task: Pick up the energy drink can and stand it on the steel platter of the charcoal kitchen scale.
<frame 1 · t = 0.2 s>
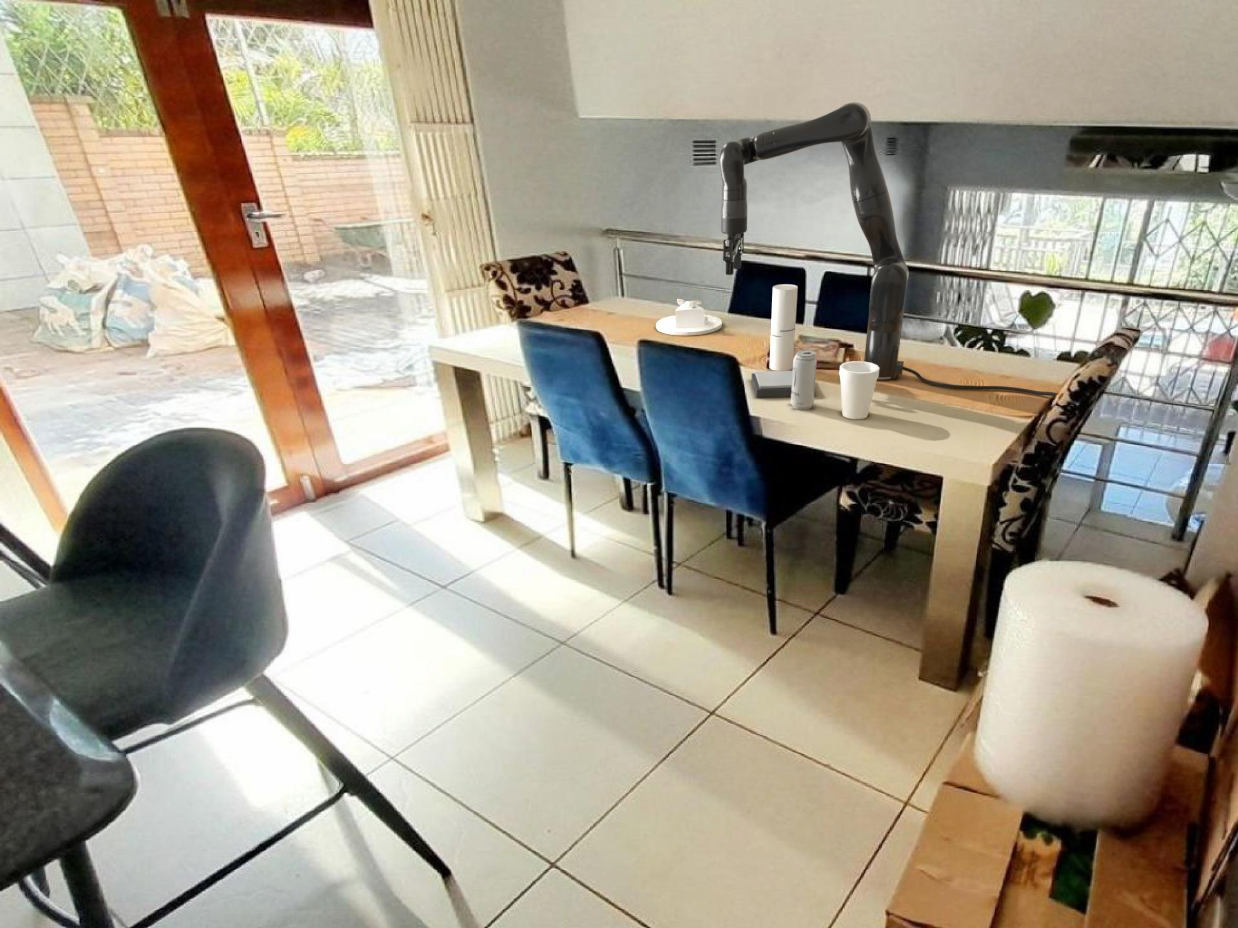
hand: (733, 271, 212), 29 cm above the table, tool pointing down, fingers open, 8 cm apart
energy drink can: (801, 406, 191), on the table
cylindrical container: (781, 368, 219), on the table
dish: (688, 326, 267), on the table
scale: (781, 388, 203), on the table
foam cup: (854, 415, 184), on the table
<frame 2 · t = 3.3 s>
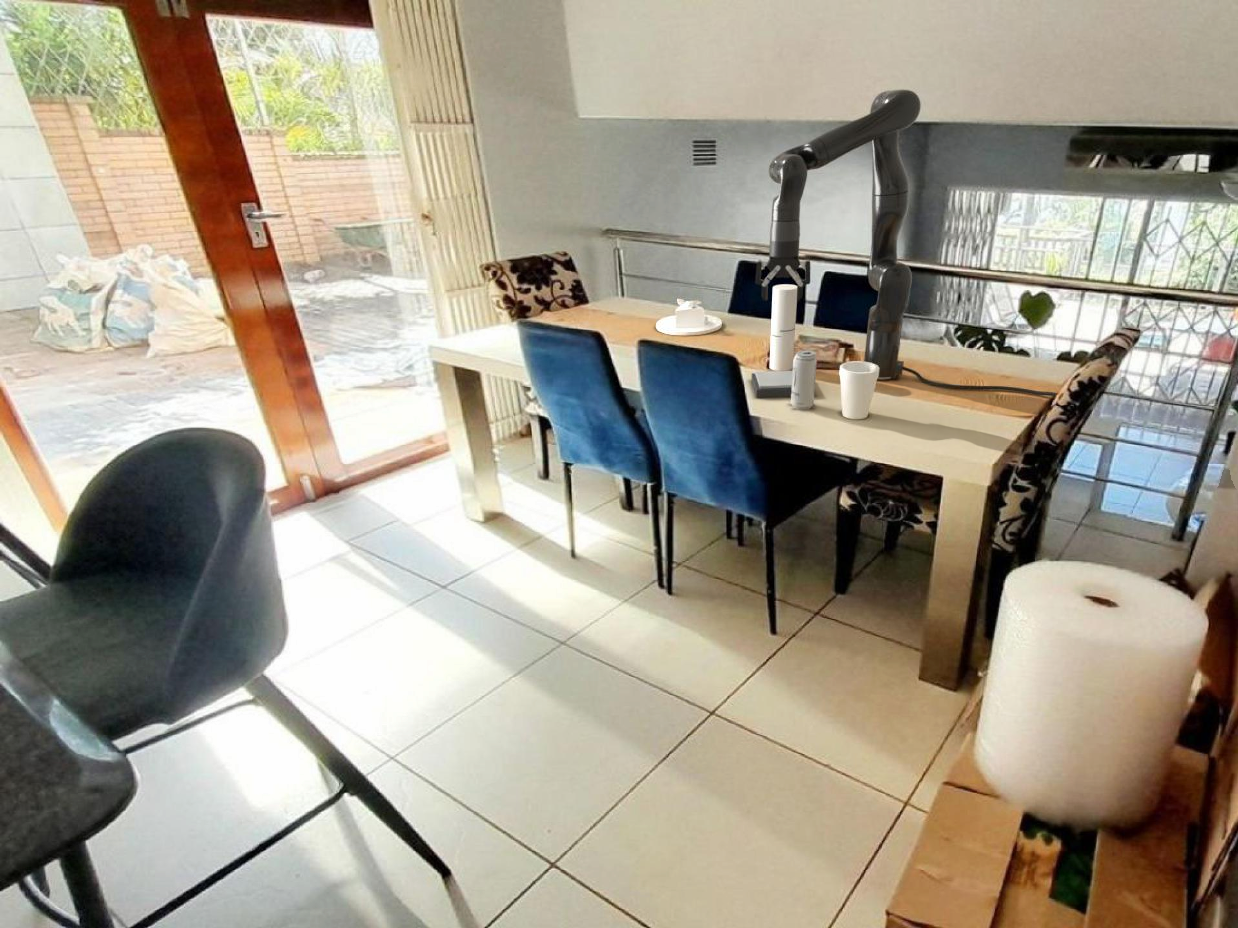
hand: (781, 300, 190), 26 cm above the table, tool pointing down, fingers open, 8 cm apart
nothing on the table moved.
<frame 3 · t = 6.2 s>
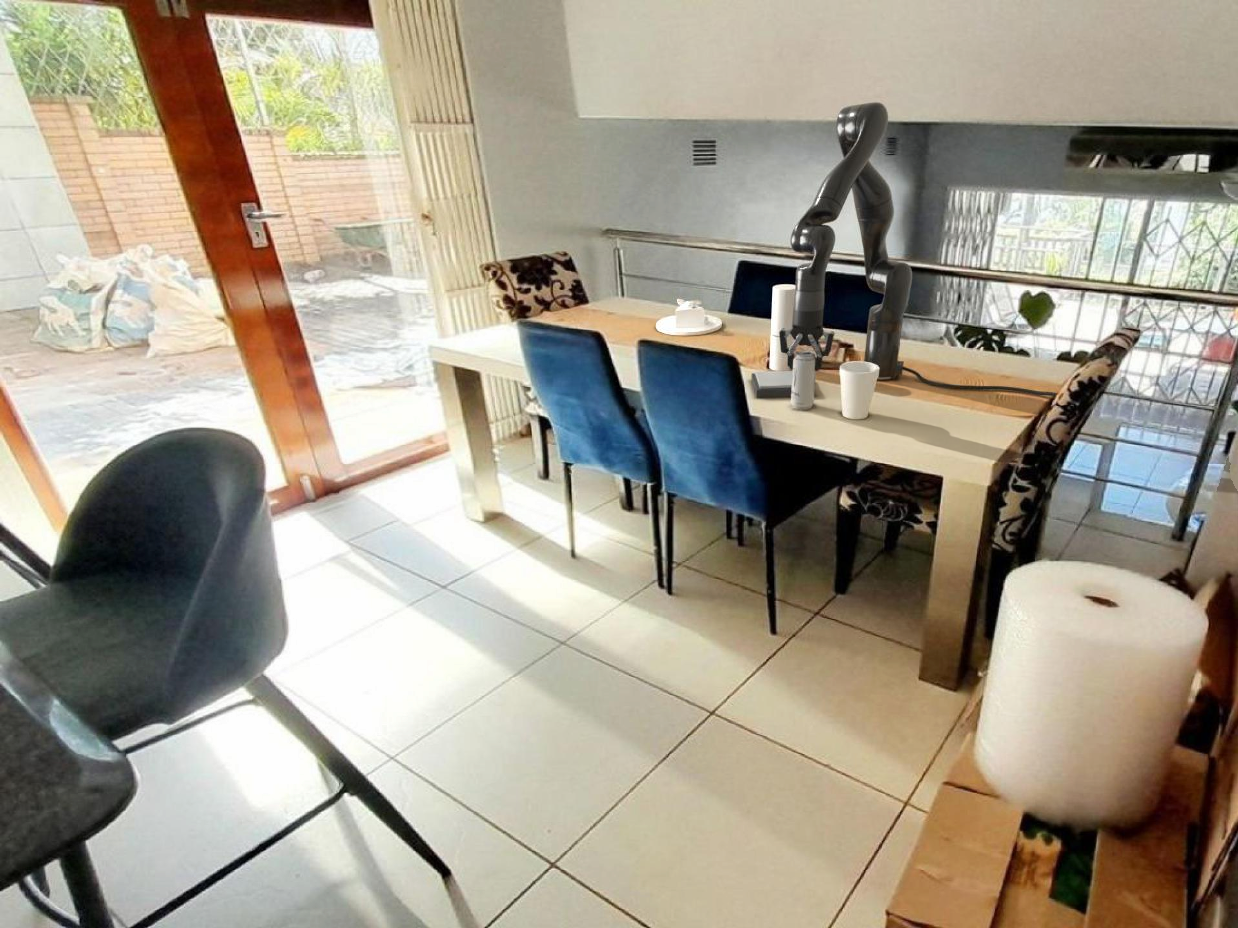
hand: (804, 369, 186), 11 cm above the table, tool pointing down, fingers closed on energy drink can, 6 cm apart
energy drink can: (801, 406, 191), on the table, touching gripper
everything else where it was.
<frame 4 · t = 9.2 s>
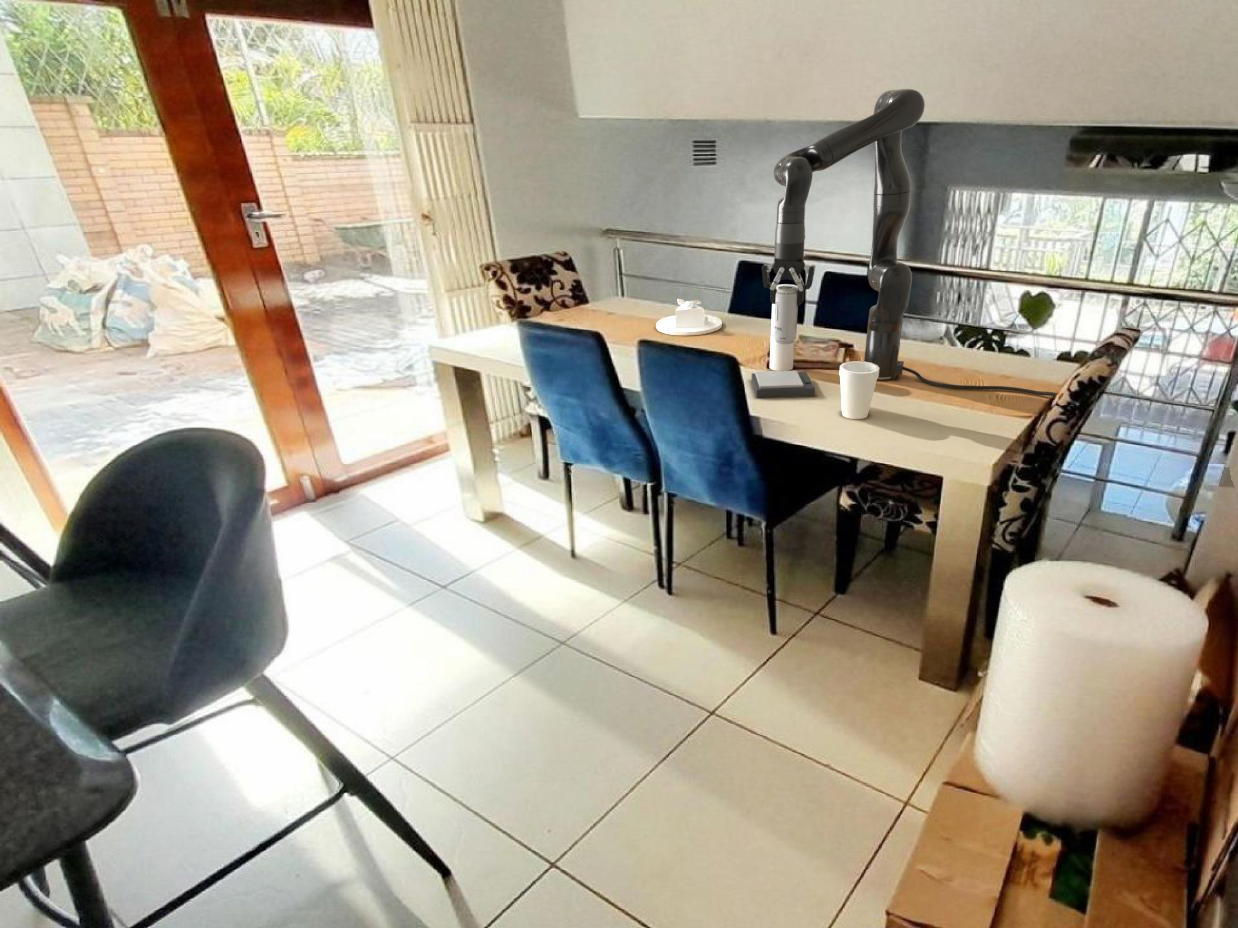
hand: (786, 303, 190), 25 cm above the table, tool pointing down, fingers closed on energy drink can, 6 cm apart
energy drink can: (784, 342, 195), point 14 cm above the table, touching gripper
everything else where it was.
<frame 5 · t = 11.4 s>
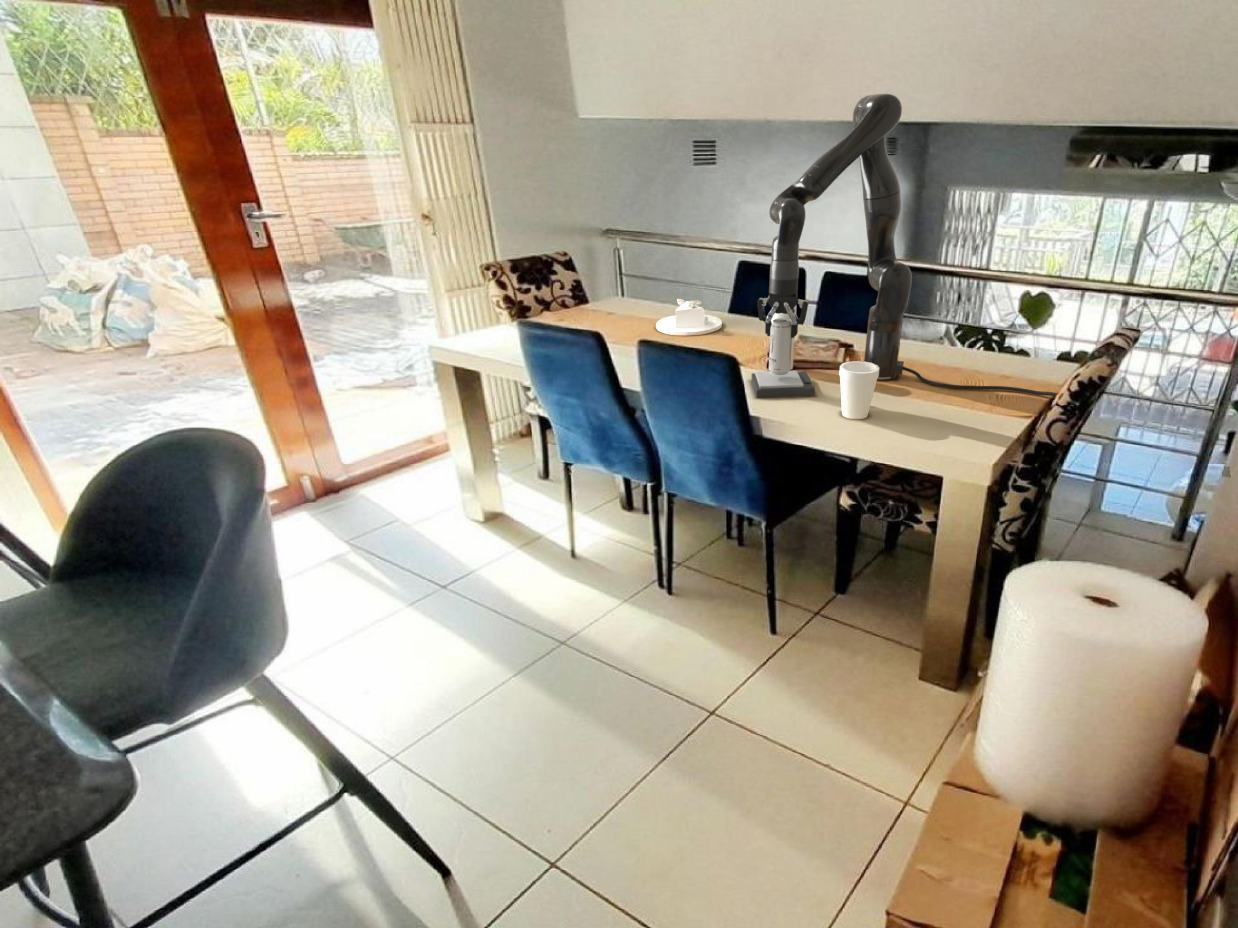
hand: (781, 336, 196), 16 cm above the table, tool pointing down, fingers closed on energy drink can, 6 cm apart
energy drink can: (779, 372, 201), point 5 cm above the table, touching gripper
everything else where it was.
when the fingers open (14 cm above the table, at t = 12.5 s): energy drink can stays where it is, resting on scale.
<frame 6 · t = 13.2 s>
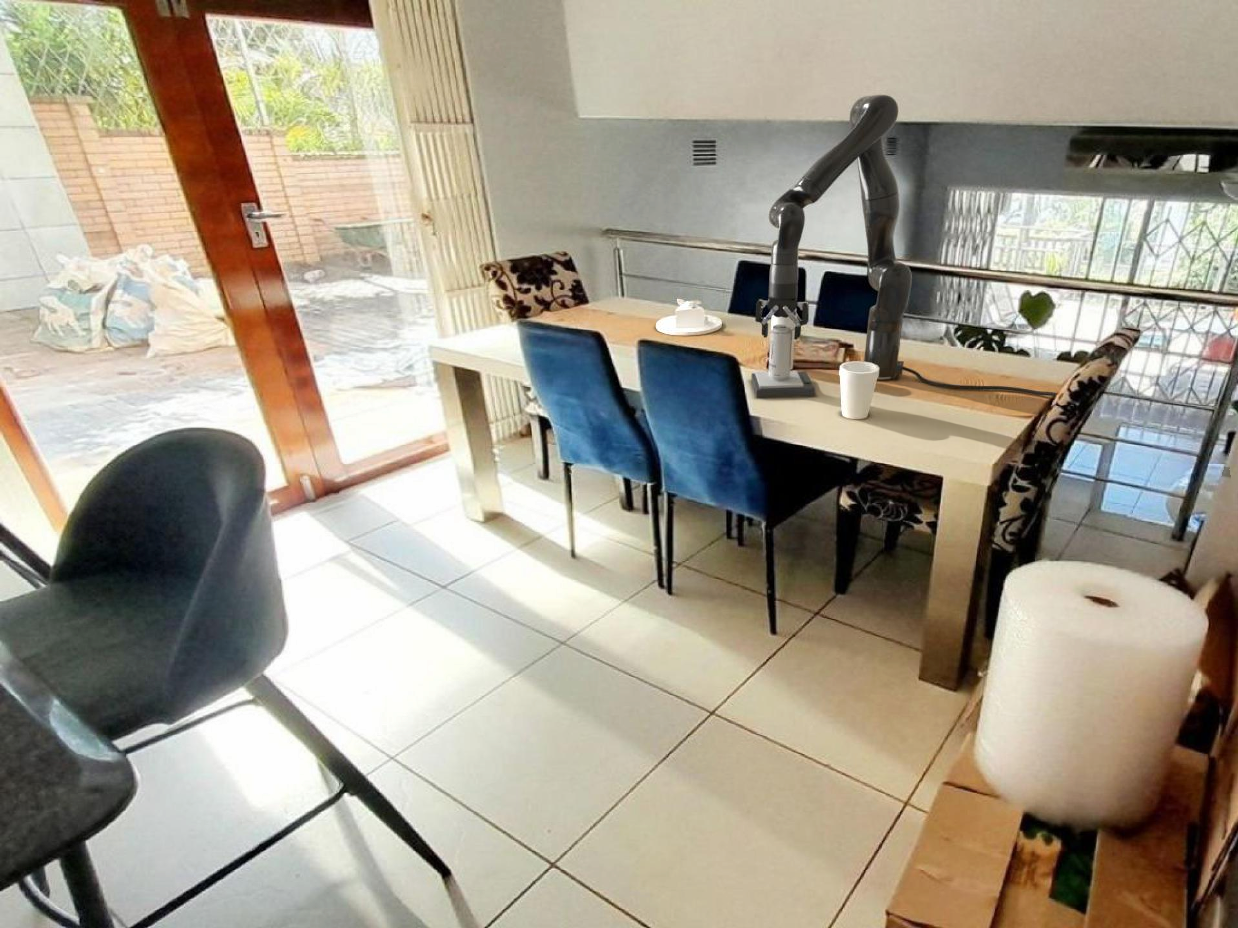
hand: (780, 338, 197), 15 cm above the table, tool pointing down, fingers open, 8 cm apart
energy drink can: (779, 378, 202), point 3 cm above the table, touching scale
everything else where it was.
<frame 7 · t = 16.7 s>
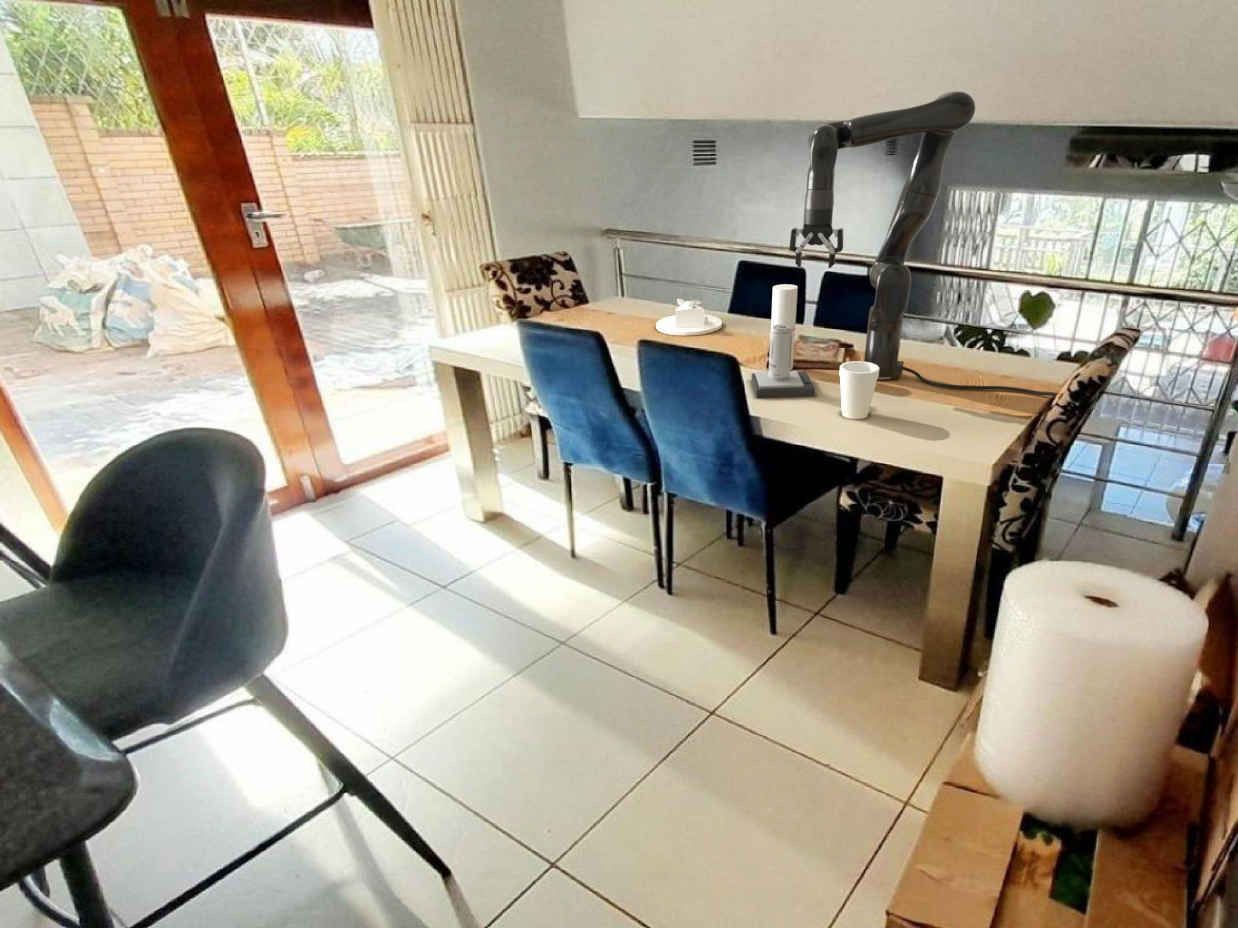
hand: (814, 267, 198), 32 cm above the table, tool pointing down, fingers open, 8 cm apart
nothing on the table moved.
at the end: energy drink can inside the target area on the scale (0.4 cm from its centre), point 3.0 cm above the scale's base; energy drink can tilted 0°; the gripper is holding nothing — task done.
